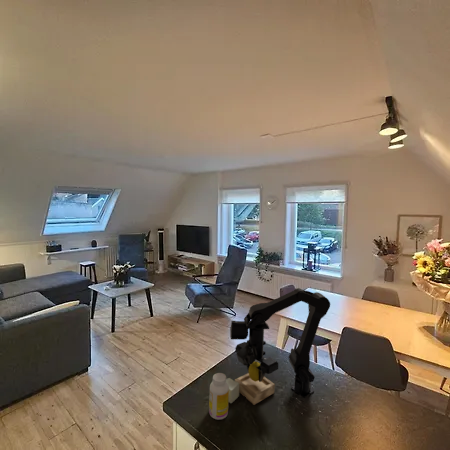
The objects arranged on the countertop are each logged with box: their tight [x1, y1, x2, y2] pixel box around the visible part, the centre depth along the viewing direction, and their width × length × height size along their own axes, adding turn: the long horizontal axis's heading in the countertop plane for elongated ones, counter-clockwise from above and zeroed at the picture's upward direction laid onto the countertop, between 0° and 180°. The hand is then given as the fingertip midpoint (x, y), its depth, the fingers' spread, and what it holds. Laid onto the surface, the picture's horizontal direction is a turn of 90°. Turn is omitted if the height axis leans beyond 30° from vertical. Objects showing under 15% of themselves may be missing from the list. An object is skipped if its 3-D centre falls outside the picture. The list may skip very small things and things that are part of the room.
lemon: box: [249, 360, 260, 382], centre depth 99 cm, size 6×6×8 cm
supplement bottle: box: [208, 372, 229, 420], centre depth 88 cm, size 7×7×13 cm
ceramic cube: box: [226, 377, 240, 404], centre depth 96 cm, size 5×5×5 cm
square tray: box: [234, 372, 276, 406], centre depth 100 cm, size 11×11×4 cm
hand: (255, 377), depth 99 cm, fingers closed on lemon, 5 cm apart
